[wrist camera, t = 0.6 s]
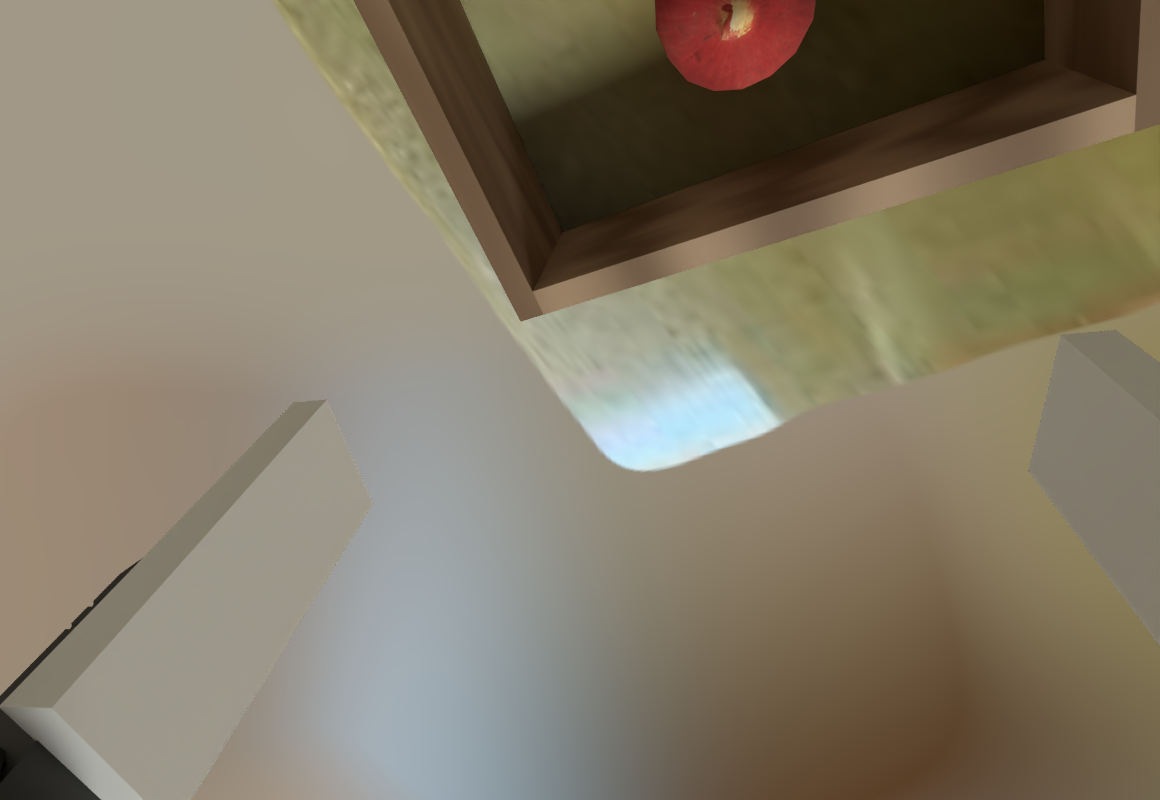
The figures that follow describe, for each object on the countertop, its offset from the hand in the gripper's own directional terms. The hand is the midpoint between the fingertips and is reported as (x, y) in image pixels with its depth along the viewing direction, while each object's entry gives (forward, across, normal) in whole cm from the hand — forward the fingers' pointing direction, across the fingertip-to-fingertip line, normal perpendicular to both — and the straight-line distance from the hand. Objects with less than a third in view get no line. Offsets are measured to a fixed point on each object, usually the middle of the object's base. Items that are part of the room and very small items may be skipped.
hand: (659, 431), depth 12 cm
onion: (+22, +3, +7) cm, 23 cm away
